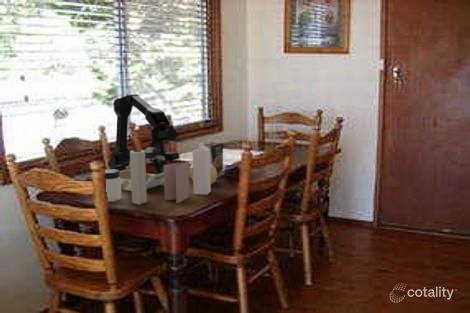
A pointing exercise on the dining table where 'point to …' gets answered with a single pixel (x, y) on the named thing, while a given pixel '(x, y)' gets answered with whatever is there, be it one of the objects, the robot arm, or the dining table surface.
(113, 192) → the jar
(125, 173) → the beige shallow tray
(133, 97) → the robot arm
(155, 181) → the pale grey-green rectangular panel
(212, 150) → the coffee box
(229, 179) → the dining table surface
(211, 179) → the sculpture
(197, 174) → the milk
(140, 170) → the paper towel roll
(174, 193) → the greeting card
